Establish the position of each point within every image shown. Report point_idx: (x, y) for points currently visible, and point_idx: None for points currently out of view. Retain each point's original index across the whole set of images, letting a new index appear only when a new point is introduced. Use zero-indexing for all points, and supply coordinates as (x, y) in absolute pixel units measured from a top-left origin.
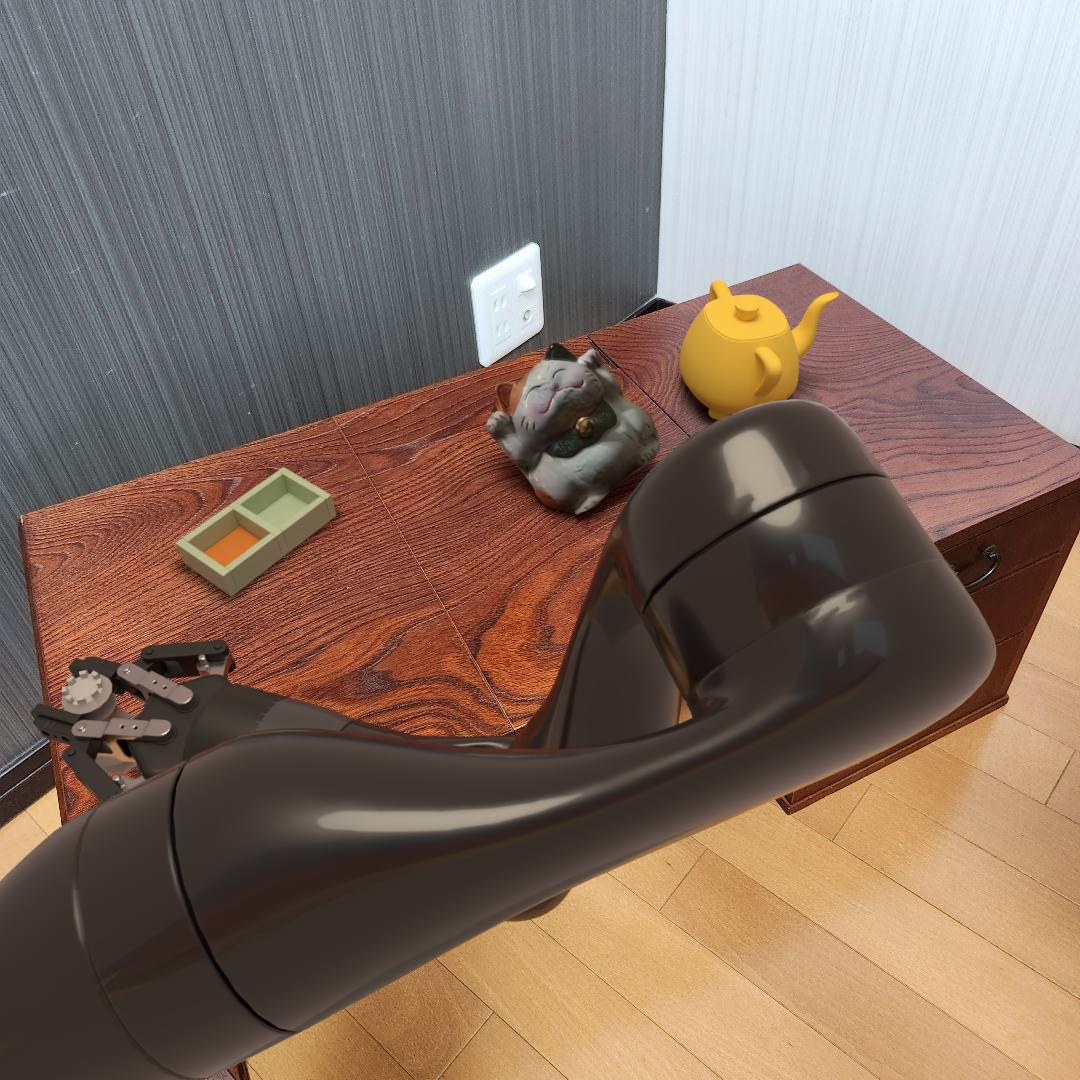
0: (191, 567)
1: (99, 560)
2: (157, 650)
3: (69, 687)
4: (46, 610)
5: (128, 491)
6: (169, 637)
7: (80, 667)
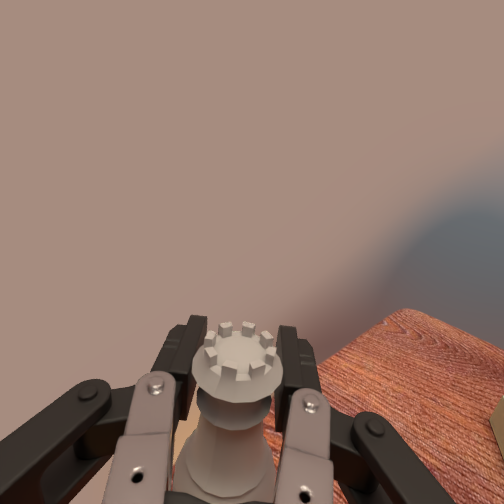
0: (494, 429)
1: (421, 352)
2: (390, 446)
3: (236, 333)
4: (359, 341)
5: (485, 342)
6: (413, 451)
7: (283, 337)
